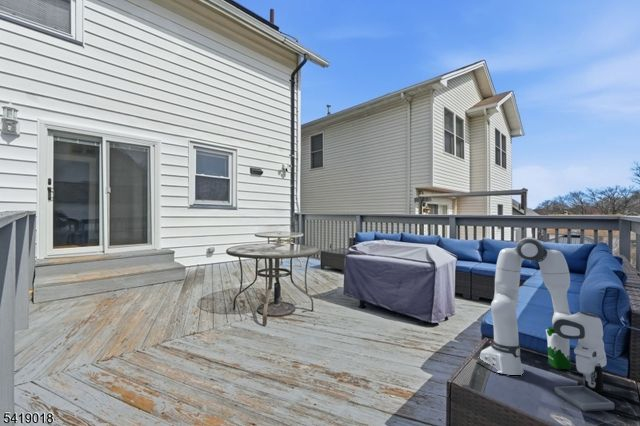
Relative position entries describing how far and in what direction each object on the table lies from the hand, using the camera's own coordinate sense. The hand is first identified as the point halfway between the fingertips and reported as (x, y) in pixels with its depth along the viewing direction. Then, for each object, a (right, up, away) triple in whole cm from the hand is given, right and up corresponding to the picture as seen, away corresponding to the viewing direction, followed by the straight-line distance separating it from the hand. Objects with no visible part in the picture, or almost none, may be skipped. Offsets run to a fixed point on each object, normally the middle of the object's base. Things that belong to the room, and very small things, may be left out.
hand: (593, 379), depth 137 cm
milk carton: (+3, -6, +23) cm, 24 cm away
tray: (-12, -4, -9) cm, 16 cm away
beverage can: (0, -5, 0) cm, 5 cm away
